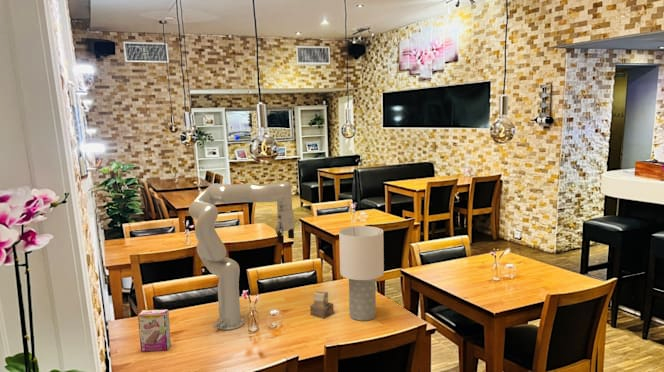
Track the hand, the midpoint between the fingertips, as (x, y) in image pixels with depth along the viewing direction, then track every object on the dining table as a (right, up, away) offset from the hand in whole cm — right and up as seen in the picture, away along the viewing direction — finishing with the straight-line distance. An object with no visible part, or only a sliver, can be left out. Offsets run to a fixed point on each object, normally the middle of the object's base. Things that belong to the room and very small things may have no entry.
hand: (286, 240), depth 228 cm
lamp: (+38, -35, -13) cm, 53 cm away
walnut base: (+19, -35, -9) cm, 41 cm away
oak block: (+18, -30, -10) cm, 36 cm away
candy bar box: (-50, -41, -39) cm, 76 cm away
